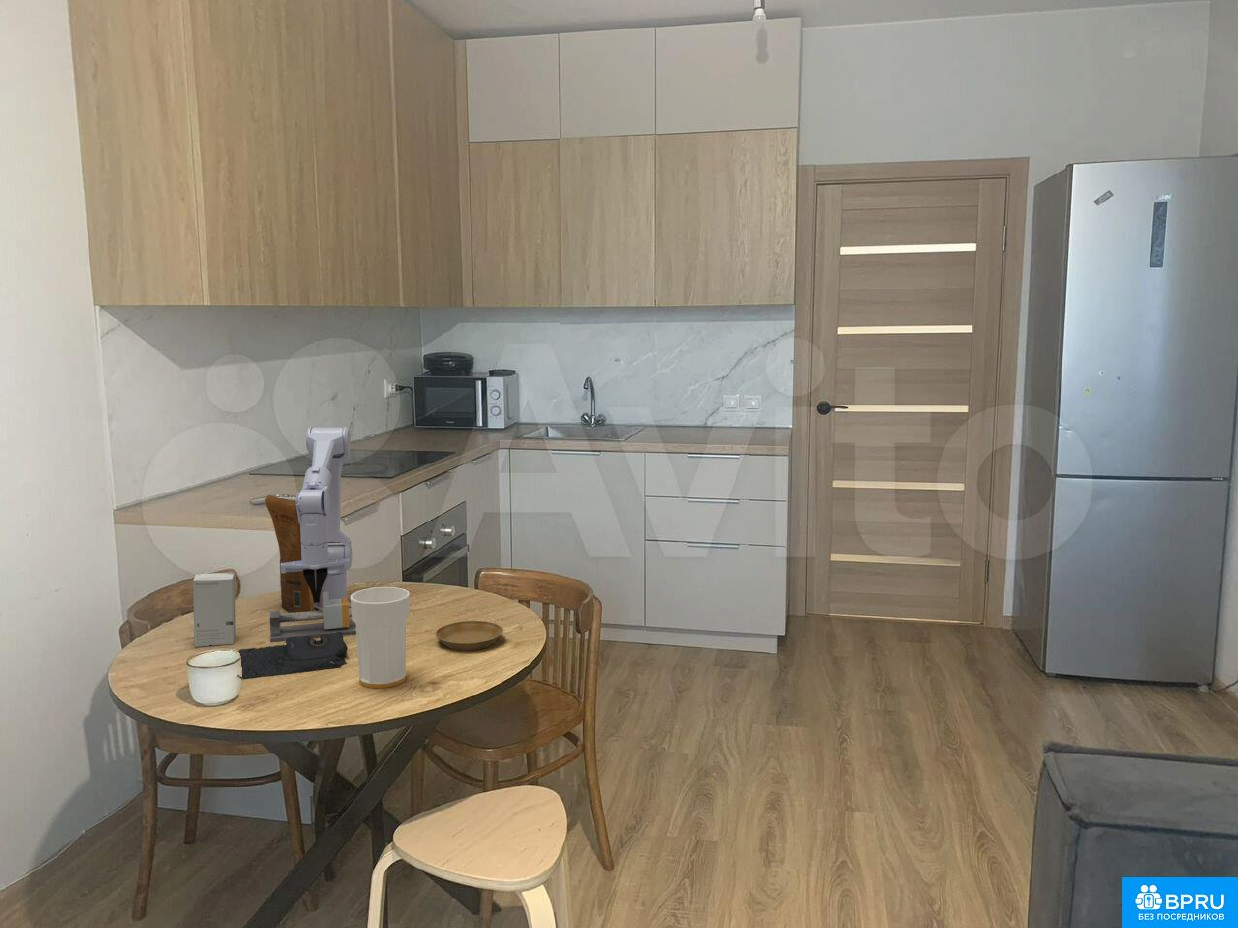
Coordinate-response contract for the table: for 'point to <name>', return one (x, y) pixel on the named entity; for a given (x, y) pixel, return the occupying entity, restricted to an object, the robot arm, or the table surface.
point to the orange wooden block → (345, 612)
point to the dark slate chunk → (294, 656)
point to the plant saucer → (469, 634)
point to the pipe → (293, 618)
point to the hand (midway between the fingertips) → (316, 601)
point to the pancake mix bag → (289, 554)
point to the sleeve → (331, 611)
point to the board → (311, 631)
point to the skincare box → (214, 609)
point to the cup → (381, 635)
